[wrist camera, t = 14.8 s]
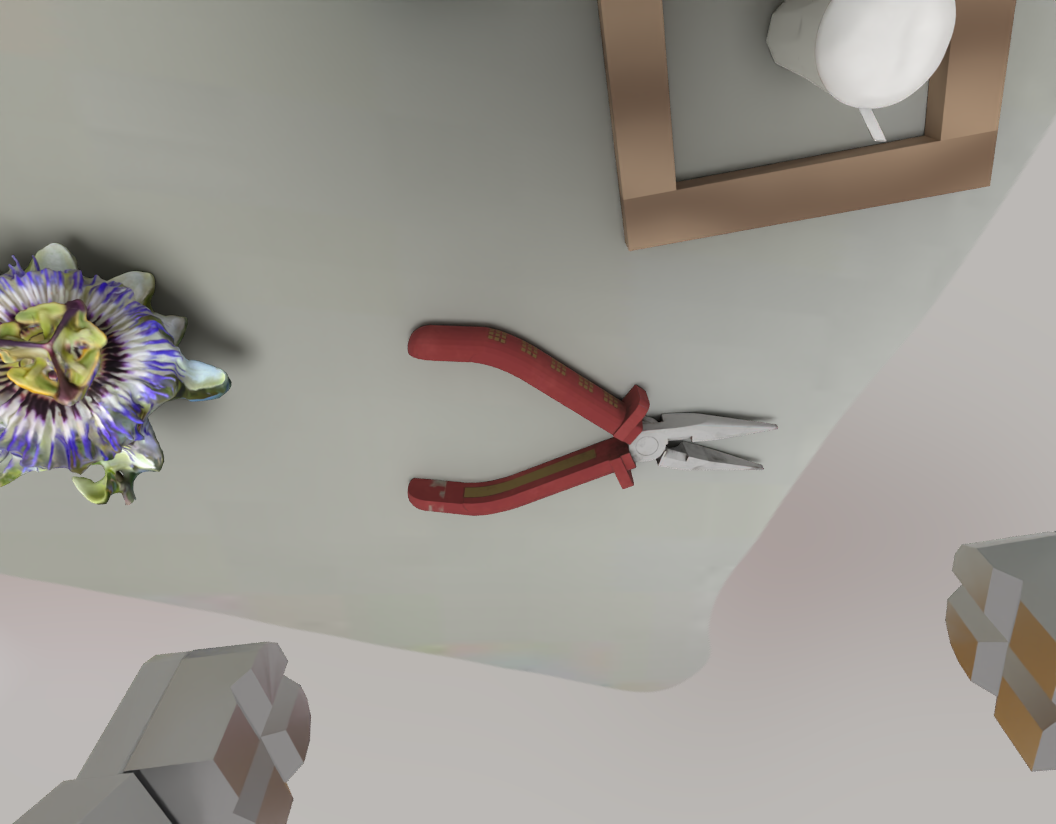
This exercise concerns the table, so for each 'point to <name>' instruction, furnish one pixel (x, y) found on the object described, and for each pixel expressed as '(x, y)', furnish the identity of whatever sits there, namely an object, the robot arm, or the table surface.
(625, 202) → the wooden frame
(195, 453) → the table surface
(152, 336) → the passion flower
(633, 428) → the pliers
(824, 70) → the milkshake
